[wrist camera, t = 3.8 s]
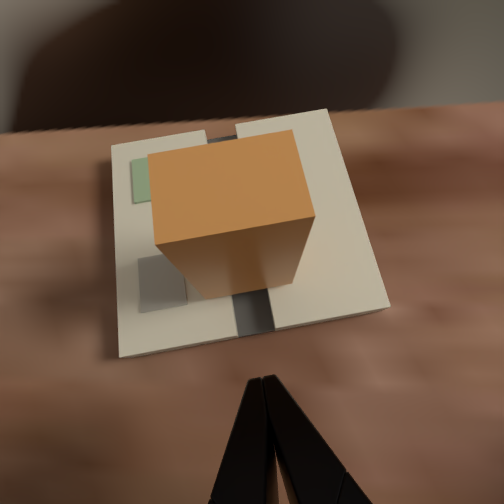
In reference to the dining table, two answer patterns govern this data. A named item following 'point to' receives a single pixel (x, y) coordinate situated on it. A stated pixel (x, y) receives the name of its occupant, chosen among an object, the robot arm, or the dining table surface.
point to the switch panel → (253, 302)
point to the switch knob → (232, 212)
